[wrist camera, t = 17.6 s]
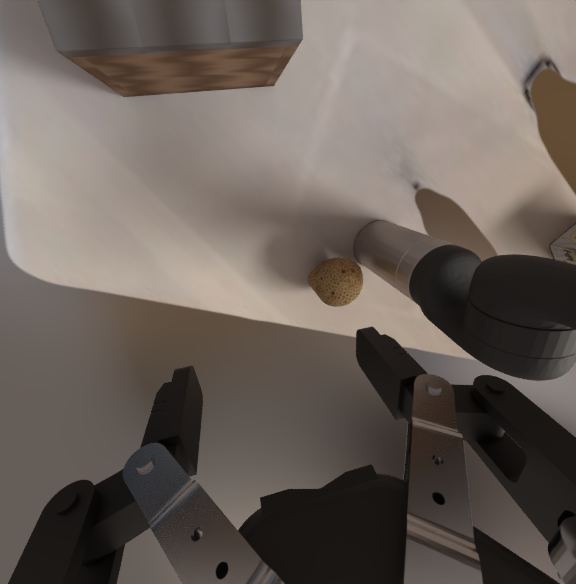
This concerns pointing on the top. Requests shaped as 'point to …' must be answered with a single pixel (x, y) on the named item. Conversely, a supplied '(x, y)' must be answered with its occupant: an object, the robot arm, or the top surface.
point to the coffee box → (565, 246)
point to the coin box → (176, 42)
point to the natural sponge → (337, 281)
